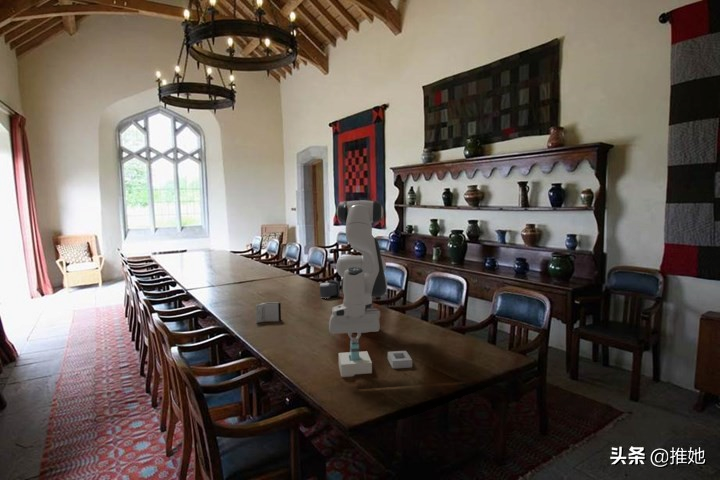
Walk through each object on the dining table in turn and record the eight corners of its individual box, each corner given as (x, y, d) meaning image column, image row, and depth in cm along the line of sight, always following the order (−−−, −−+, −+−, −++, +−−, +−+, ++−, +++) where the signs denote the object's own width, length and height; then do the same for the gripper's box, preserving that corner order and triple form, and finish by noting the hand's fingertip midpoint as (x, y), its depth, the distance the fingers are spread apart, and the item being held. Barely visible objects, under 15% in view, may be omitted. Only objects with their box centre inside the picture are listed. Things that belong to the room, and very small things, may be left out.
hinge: (255, 323, 226) (255, 305, 225) (255, 320, 231) (255, 303, 230) (281, 321, 229) (280, 303, 228) (280, 318, 234) (280, 301, 233)
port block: (338, 364, 169) (338, 352, 168) (367, 362, 171) (367, 350, 170) (341, 377, 157) (341, 364, 157) (371, 375, 159) (371, 362, 158)
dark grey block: (316, 298, 284) (315, 282, 282) (331, 294, 292) (330, 279, 291) (325, 300, 276) (324, 285, 274) (341, 296, 284) (340, 281, 282)
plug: (350, 365, 166) (350, 341, 165) (357, 364, 166) (357, 341, 165) (351, 369, 161) (351, 345, 160) (359, 369, 162) (359, 345, 161)
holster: (387, 360, 173) (387, 351, 172) (405, 359, 174) (405, 350, 174) (392, 370, 163) (392, 361, 163) (412, 369, 164) (412, 359, 164)
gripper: (378, 305, 166) (378, 338, 167) (328, 307, 163) (328, 341, 164) (381, 310, 160) (381, 344, 161) (329, 312, 157) (329, 346, 158)
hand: (354, 342), depth 163 cm, fingers closed
